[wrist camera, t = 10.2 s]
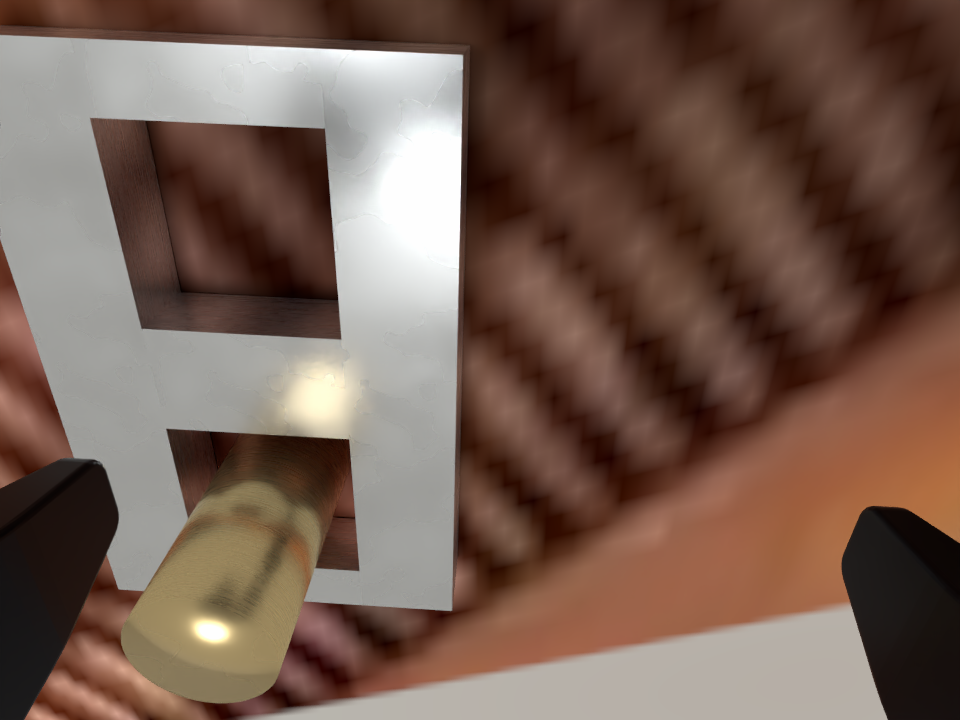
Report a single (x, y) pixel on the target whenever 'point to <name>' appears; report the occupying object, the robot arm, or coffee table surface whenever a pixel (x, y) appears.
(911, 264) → the coffee table surface
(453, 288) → the plate
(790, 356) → the coffee table surface
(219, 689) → the pale yellow rod
